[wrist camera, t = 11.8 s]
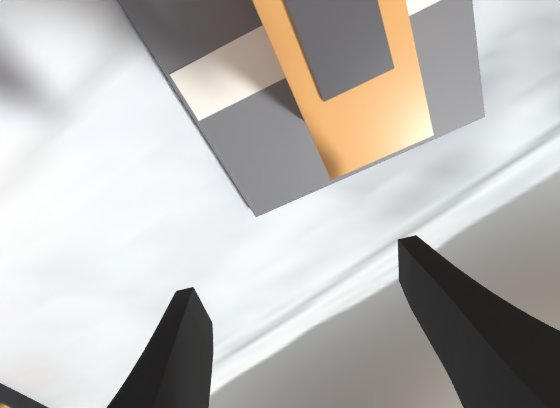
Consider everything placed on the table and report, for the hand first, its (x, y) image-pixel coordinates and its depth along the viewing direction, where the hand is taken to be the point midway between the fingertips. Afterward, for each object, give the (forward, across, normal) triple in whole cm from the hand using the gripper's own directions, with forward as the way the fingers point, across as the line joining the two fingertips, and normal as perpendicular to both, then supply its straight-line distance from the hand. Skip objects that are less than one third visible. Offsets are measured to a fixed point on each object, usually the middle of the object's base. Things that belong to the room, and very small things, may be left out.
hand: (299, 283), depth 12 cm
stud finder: (+9, -3, -6) cm, 11 cm away
